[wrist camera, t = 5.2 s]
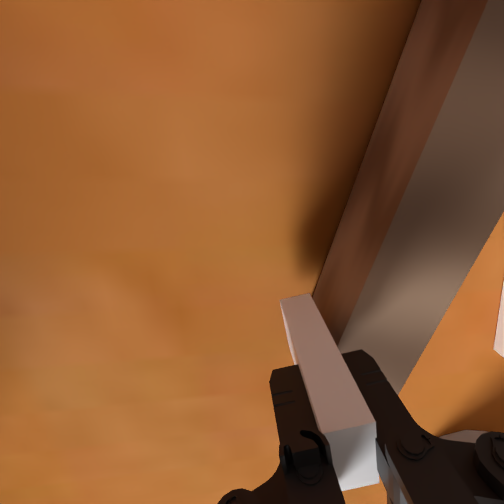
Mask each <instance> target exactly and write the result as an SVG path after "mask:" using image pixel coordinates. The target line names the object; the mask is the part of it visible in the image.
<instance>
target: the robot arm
mask: <svg viewBox="0 0 504 504" xmlns="http://www.w3.org/2000/svg"><path fill="white" fill-rule="evenodd" d="M280 304H281V309H282V314H283V319H284V324H285V329H286V334H287V339H288V344H289V348H290V351H291V354H292V358H293V361H294V365H292V366H288V367H284V368H279V369H275V370H273V371H272V374H271V378H270V381H269V383H270V389H271V394H272V400H273V406H274V412H275V418H276V423H277V429H278V435H279V441H280V445H279V458H280V464H279V466H278V468H277V470H276V472H275V473H274V475H273V476H272V477H271V478H270V479H269V480H268V481H266V482H265V483H264V484H262V485H261V486H259V487H258V488H256V489H255V490H253V491H252V492H251V491H249V490H246V489H242V488H241V489H236V490H232V491H230V492H229V493H227V494H226V495H224V496H223V497H222V498H221V500H220V501H219V502H218V504H345V500H344V497H343V494H342V491H345V490H349V489H354V488H359V487H363V486H368V485H372V484H377V483H379V475H380V477H381V480H382V482H383V484H384V486H385V489H386V491H387V504H504V433H501V432H487V433H484V434H481V435H480V436H479V437H478V439H477V440H476V443H471V442H462V441H453V440H447V439H442V438H439V437H436V436H434V435H432V434H430V433H429V432H427V431H425V430H424V429H422V428H421V427H420V426H419V425H418V424H417V423H416V422H415V421H414V419H413V418H412V417H411V415H410V414H409V412H408V411H407V409H406V407H405V406H404V404H403V403H402V401H401V400H400V398H399V397H398V395H397V394H396V392H395V390H394V389H393V387H392V386H391V384H390V383H389V381H387V378H386V377H385V375H384V373H383V372H382V371H381V369H380V367H379V366H378V364H377V363H376V361H375V360H374V358H373V357H372V356H370V355H369V354H368V353H366V352H365V351H363V350H362V349H360V350H356V351H351V352H347V353H342V354H341V353H340V351H339V349H338V347H337V345H336V344H335V342H334V340H333V338H332V336H331V334H330V332H329V330H328V328H327V326H326V324H325V322H324V320H323V318H322V316H321V314H320V312H319V310H318V309H317V307H316V305H315V303H314V301H313V299H312V297H311V295H310V293H307V294H303V295H299V296H294V297H290V298H285V299H281V300H280Z"/></svg>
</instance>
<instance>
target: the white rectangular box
mask: <svg viewBox="0 0 504 504" xmlns="http://www.w3.org/2000/svg"><path fill="white" fill-rule="evenodd" d="M494 350H495V351H496V352H498V353H499V354H500V355H501V356H502V357H504V282H503V289H502V296H501V302H500V309H499V316H498V322H497V329H496V336H495V343H494Z"/></svg>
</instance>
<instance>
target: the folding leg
mask: <svg viewBox="0 0 504 504" xmlns="http://www.w3.org/2000/svg"><path fill="white" fill-rule="evenodd" d="M503 212H504V0H421V3H420V6H419V9H418V11H417V14H416V17H415V19H414V22H413V25H412V28H411V30H410V33H409V36H408V39H407V41H406V44H405V47H404V49H403V52H402V55H401V58H400V60H399V63H398V66H397V68H396V71H395V74H394V77H393V79H392V82H391V85H390V88H389V90H388V93H387V96H386V98H385V101H384V104H383V107H382V109H381V112H380V115H379V117H378V120H377V123H376V126H375V128H374V131H373V134H372V137H371V139H370V142H369V145H368V147H367V150H366V153H365V156H364V158H363V161H362V164H361V166H360V169H359V172H358V175H357V177H356V180H355V183H354V186H353V188H352V191H351V194H350V196H349V199H348V202H347V205H346V207H345V210H344V213H343V215H342V218H341V221H340V224H339V226H338V229H337V232H336V235H335V237H334V240H333V243H332V245H331V248H330V251H329V254H328V256H327V259H326V262H325V264H324V267H323V270H322V273H321V275H320V278H319V281H318V284H317V286H316V289H315V292H314V294H313V297H312V299H313V301H314V303H315V305H316V307H317V309H318V310H319V312H320V314H321V316H322V318H323V320H324V322H325V324H326V326H327V328H328V330H329V332H330V334H331V336H332V338H333V340H334V342H335V344H336V345H337V347H338V349H339V351H340V353H341V354H342V353H347V352H351V351H356V350H360V349H362V350H363V351H365V352H366V353H368V354H369V355H370V356H372V357H373V358H374V360H375V361H376V363H377V364H378V366H379V367H380V369H381V371H382V372H383V373H384V375H385V377H386V378H387V381H389V383H390V384H391V386H392V387H393V389H394V390H395V392H396V394H397V395H398V394H399V392H400V391H401V389H402V387H403V385H404V384H405V382H406V380H407V378H408V377H409V375H410V373H411V372H412V370H413V368H414V366H415V365H416V363H417V361H418V359H419V358H420V356H421V354H422V352H423V351H424V349H425V347H426V345H427V344H428V342H429V340H430V339H431V337H432V335H433V333H434V332H435V330H436V328H437V326H438V325H439V323H440V321H441V319H442V318H443V316H444V314H445V312H446V311H447V309H448V307H449V306H450V304H451V302H452V300H453V299H454V297H455V295H456V293H457V292H458V290H459V288H460V286H461V285H462V283H463V281H464V279H465V278H466V276H467V274H468V272H469V271H470V269H471V267H472V266H473V264H474V262H475V260H476V259H477V257H478V255H479V253H480V252H481V250H482V248H483V246H484V245H485V243H486V241H487V239H488V238H489V236H490V234H491V233H492V231H493V229H494V227H495V226H496V224H497V222H498V220H499V219H500V217H501V215H502V213H503Z"/></svg>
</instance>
